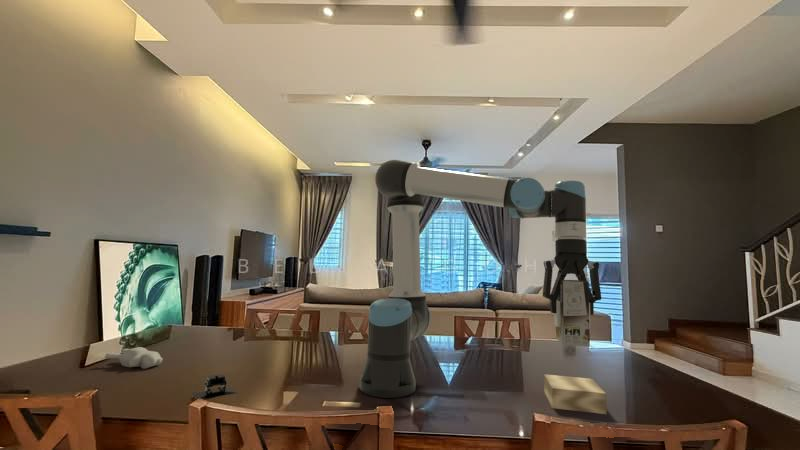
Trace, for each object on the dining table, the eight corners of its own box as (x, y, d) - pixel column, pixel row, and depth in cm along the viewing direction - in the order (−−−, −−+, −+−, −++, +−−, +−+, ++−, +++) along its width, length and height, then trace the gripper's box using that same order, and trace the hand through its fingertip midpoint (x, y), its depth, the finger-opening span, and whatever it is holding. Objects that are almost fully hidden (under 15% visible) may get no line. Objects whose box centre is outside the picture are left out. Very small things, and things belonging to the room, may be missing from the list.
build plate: (188, 404, 85) (190, 384, 85) (184, 395, 91) (186, 376, 91) (244, 394, 92) (245, 376, 93) (237, 386, 98) (238, 369, 99)
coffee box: (591, 347, 90) (589, 281, 92) (563, 345, 91) (562, 280, 93) (580, 340, 99) (579, 279, 101) (555, 338, 100) (554, 278, 102)
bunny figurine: (146, 357, 107) (102, 348, 109) (142, 375, 106) (98, 365, 109) (170, 350, 116) (130, 341, 118) (167, 367, 115) (126, 357, 118)
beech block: (552, 409, 89) (552, 388, 90) (544, 393, 101) (544, 374, 101) (606, 415, 87) (606, 393, 87) (591, 398, 98) (591, 378, 99)
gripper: (536, 237, 95) (537, 327, 93) (616, 239, 93) (618, 331, 91) (529, 239, 103) (529, 322, 100) (602, 240, 101) (604, 326, 98)
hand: (571, 326), depth 96 cm, fingers closed on coffee box, 7 cm apart
